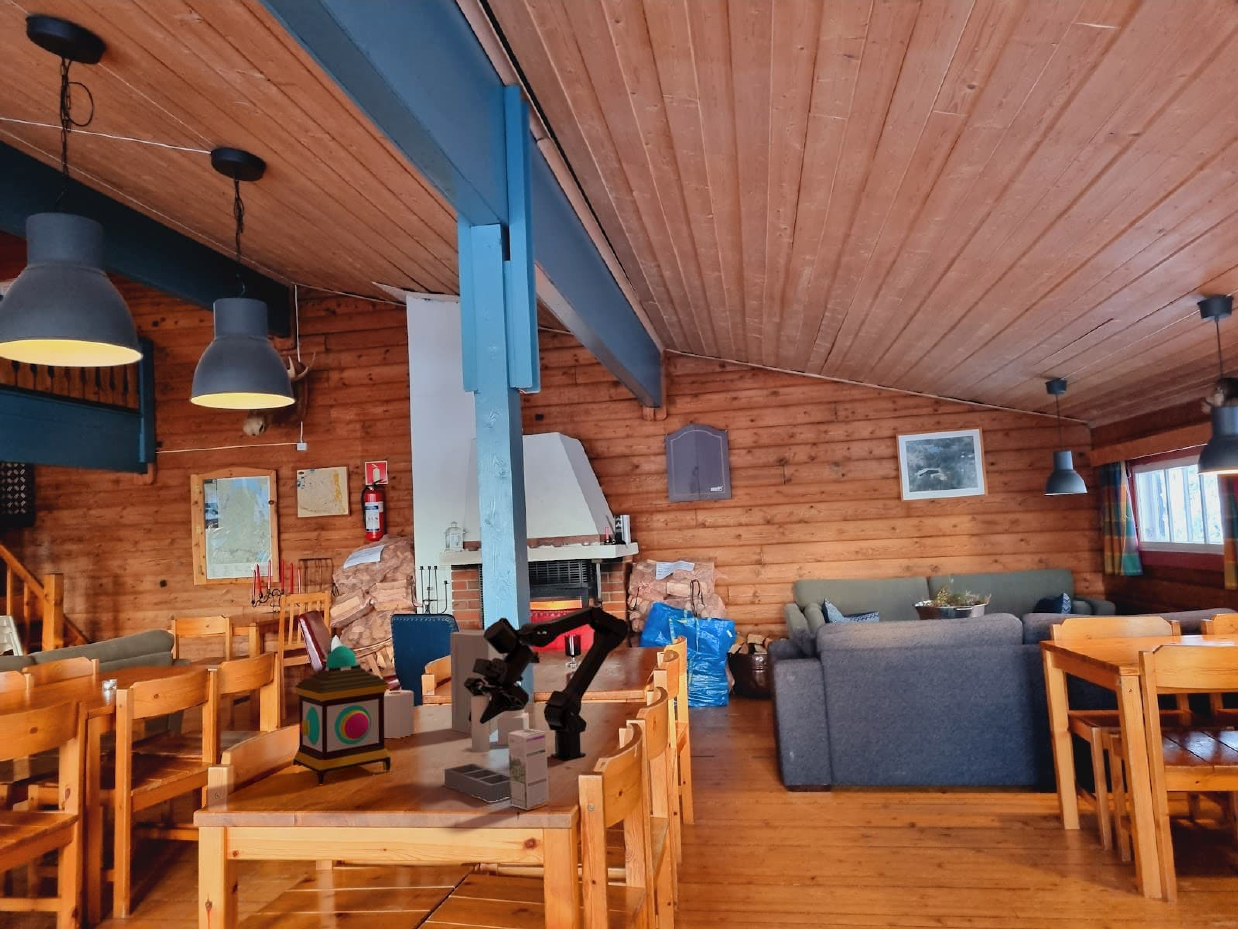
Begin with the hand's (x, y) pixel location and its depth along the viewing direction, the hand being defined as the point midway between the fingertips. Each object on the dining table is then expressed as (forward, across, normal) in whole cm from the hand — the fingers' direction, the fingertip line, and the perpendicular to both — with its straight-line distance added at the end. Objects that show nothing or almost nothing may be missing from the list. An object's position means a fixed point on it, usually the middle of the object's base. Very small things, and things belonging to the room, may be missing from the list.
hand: (475, 721), depth 192 cm
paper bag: (-16, -48, +34) cm, 61 cm away
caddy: (+12, +9, +6) cm, 16 cm away
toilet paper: (-2, -61, +20) cm, 64 cm away
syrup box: (+13, +26, +5) cm, 29 cm away
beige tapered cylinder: (+4, 0, +6) cm, 7 cm away
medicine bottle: (-12, -24, +30) cm, 40 cm away
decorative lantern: (+20, -33, -2) cm, 39 cm away
